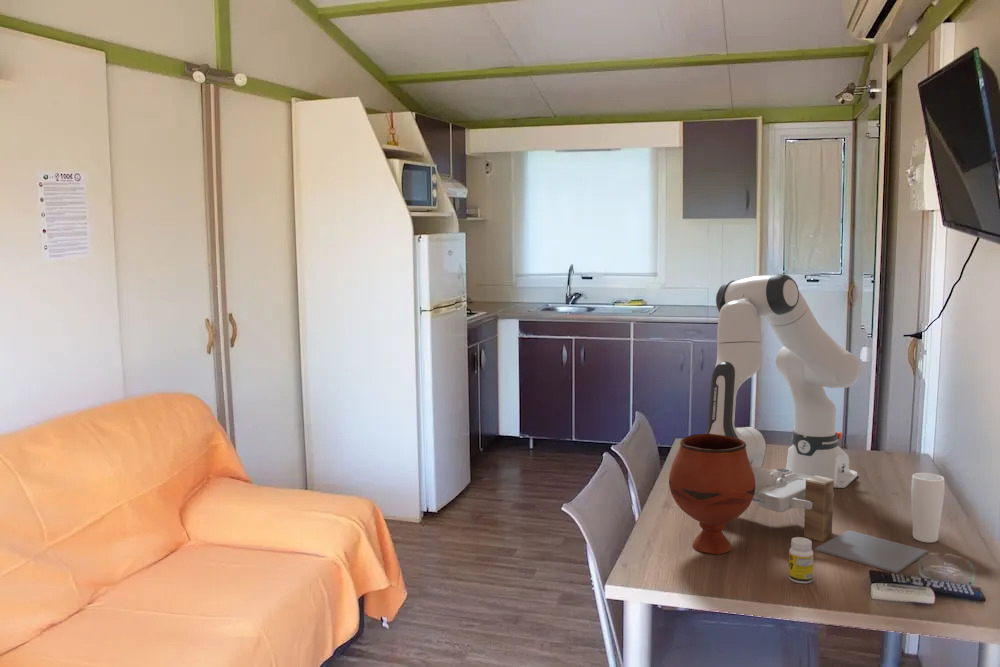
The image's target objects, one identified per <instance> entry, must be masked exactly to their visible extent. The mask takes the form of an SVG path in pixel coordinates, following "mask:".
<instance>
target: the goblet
mask: <svg viewBox="0 0 1000 667" xmlns="http://www.w3.org/2000/svg"><path fill="white" fill-rule="evenodd" d="M679 442H680V444H679V445H680V446H679V447H678V448H679V449H678V450H677V452H676V455H675V457H674V458H673V463H672V465H671V467H670V469H669V470H670V471H669V476H668V487H669V490H670V493H671V496H672V498H673V500H674V501H675V503H676V504H677V506H678V507H679V508H680V509H681V510H682V512H684V513H685V514H687V515H688V516H689V517H691V518H692V519H693V520H695V521H697V522H699V523H698V525H699V527H700V528H701V529H702V530H701V532H699V534H698V535H697V536H696V537H695V539H694V540H693V542H692V544H691V545H692V547H693V549H694V550H696V551H698V552H701V553H706V554H712V555H721V554H724V553H725V554H726V553H728V552H730V551H732V545H731V543H730V542H729V539H727V537H726V536H725V534H724V533H723V531H724V530H725V529H726V524H728V523H730V522H732V521H734V520H736V519H737V518H738V517H740V516H741V515H742V514H743V513H745V511H747V509H748V508H749V507H750V505H751V503H752V502H751V501H752V499H753V497H754V494H755V489H756V484H755V477H754V473H753V471H752V468H751V466H750V463H749V460H748V457H747V452H746V448H745V447H746V443H745V442H744V441H742V440H740V439H738V438H734V437H730V436H724V435H716V434H706V432H704V433H703V432H702V433H697V434H691V435H687V436H685V437H683V438H681V440H680V441H679Z"/></svg>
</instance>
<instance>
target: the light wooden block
mask: <svg viewBox="0 0 1000 667" xmlns="http://www.w3.org/2000/svg"><path fill="white" fill-rule="evenodd" d="M833 485H834V479H830V478H826V477H821V476H817V475H815V476H813V477H810V478H808V479H806V491H805V500H807V499H808V500H812V501H814V508H812V509H810V510H809V509H805V508H804V524H803V525H804V530H803V532H804V533H803V534H804V535H803V538H807V539H809V540H813V541H817V542H821V543H824V542H825V541H828V540H830V538H831V539H832V537H833V536H832V535H833V514H834V512H833V511H834V510H833V509H834V498H833V493H834V487H833Z"/></svg>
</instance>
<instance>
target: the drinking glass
mask: <svg viewBox="0 0 1000 667" xmlns="http://www.w3.org/2000/svg"><path fill="white" fill-rule="evenodd" d="M910 492H911V494H910V496H911V516H912V537H913V539H915V541H918V542H922V543H926V544H927V543H931V544H932V543H936V542H938V540H939V536H940V535H939V533H940V532H939V531H940V523H941V518H942V517H941V516H942V512H943V506H944V497H945V477H944V476H942V475H939V474H936V473H931V472H915V473H913V474H912V476H911V491H910Z"/></svg>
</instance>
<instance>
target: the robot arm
mask: <svg viewBox="0 0 1000 667" xmlns="http://www.w3.org/2000/svg"><path fill="white" fill-rule="evenodd" d="M715 304H716V308H717V310H718V312H719V315H718V321H717V331H716V332H717V333H716V344H717V345H716V348H717V349H716V363H715V367H714V369H713V372H712V376H711V382H710V390H709V391H710V393H709V408H708V409H709V411H708V421H707V427H706V432H705V433H706V434H716V435H724V436H730V437H734V438H738V439H740V440H742V441H744V442H745V443H746V447H745V448H746V452H747V457H748V460H749V463H750V466H751V468H752V471H753V473H754V477H755V484H756V489H755V494H754V497H753V499H752V501H751V503H754V504H757V505H758V506H759V507H761V508H764V509H766V510H768V511H769V510H770V511H773V512H776V513H785V512H786V511H788V510H791V509H804V510H805V509H809V510H810V509H812V508H814V501H812V500H808V499H807V500H805V491H806V479H808V478H810V477H813V476H815V475H817V476H821V477H826V478H830V479H834V485H833V488H835V489H836V488H837V489H842V488H843V489H844V488H846V487H848V485H849V484H850V483H852V482H853V481H855V479H856V478H857V477H858V476H859V474H858V471H856V470H853V469H850V458H849V455H848V454H847V453H846V452H845V451H844V450H843V449H842V448H841V447H840V446H839V445H840V444H839V440H841V439H842V437H843V433H842V432H841V431H836V428H837V426H836V424H837V423H836V421H837V407H836V405H835V403H834V402H833V401H832V399H830V398H829V397H828V395H827V394H826V391H825V388H830V389H845V388H850V387H852V386H853V385H854V384H856V383H857V381H858V379H859V376H860V375H861V364H860V362H859V359H858V357H857V356H856V355H855V354H853V353H851V352H850V351H848V350H847V349H844V347H842V346H841V345H840V344H839V343H837V341H835V340H834V338H832V336H830V335H829V334H828V333H827V332H826V330H824V328H823V327H822V326H821V325H820V324H819V321H817V319H816V317H815V315H814V313H813V312H812V310H811V308H810V306H809V305H808V303H807V301H806V299H805V297H804V296H803V295H802V293H801V292H800V290H799V286H798V285H797V282H796V281H795V280H794V279H793V278H792V277H791V276H790V275H788V274H785V273H774V274H761V275H752V276H751V277H745V278H741V279H738V280H730V281H728V282H725V283H723V284H722V285H720V287H719V289H718V290H717V293H716V296H715ZM761 318H766V319H767V321H768V322H769V325H770V326H771V328H772V331H774V334H775V335H776V337H777V339H778V341H779V343H780V344H781V345H782V347H781V348H780V349H779V351H778V352H777V353H776V356H775V357H776V358H775V366H776V369H777V371H778V373H779V374H780V376H782V377H783V379H784V380H785V382H786V384H787V386H788V388H789V391H790V394H791V398H792V402H793V414H794V415H793V424H794V425H793V426H794V427H793V430H792V434H791V443H792V445H791V446H790V447H788V450H787V456H786V457H787V459H786V465H785V468H780V469H772V468H764V467H763V466H764V462H765V456H766V453H767V442H766V438H765V437H764V435H763V433H761V431H760V430H758V429H757V428H755V427H751V426H745V427H744V426H742V427H740V426H739V427H736V426H735V417H736V416H735V415H736V405H737V404H736V402H737V395H738V390H739V388H740V387H741V386H742V385H743V383H745V382H746V381H748V380H749V379H750V378H752V377H753V376H754V375H755V374H757V372H758V371H759V370H760V369H761V366H762V359H763V339H762V338H763V335H762V328H761V327H762V326H761V321H760V319H761ZM834 496H835V493H834V492H833V499H834V498H835V497H834Z"/></svg>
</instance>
